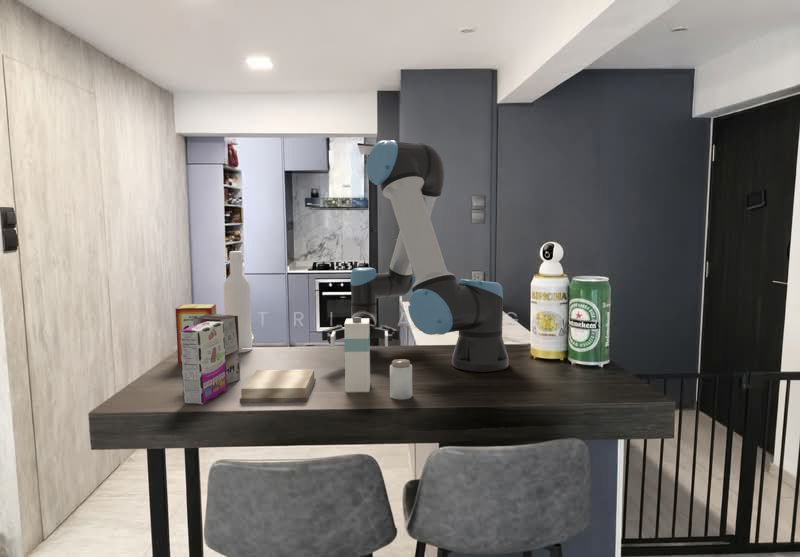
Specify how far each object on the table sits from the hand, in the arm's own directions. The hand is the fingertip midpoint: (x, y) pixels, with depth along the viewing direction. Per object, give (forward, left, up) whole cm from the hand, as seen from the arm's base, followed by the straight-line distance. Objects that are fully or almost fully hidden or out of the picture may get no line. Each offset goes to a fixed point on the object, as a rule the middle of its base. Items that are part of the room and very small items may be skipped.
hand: (359, 341), depth 152 cm
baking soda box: (+46, -18, -9) cm, 50 cm away
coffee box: (+35, +2, -9) cm, 36 cm away
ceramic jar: (-10, +17, -9) cm, 21 cm away
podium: (+18, +12, -9) cm, 23 cm away
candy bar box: (+34, +16, -9) cm, 38 cm away
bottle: (+38, -32, -9) cm, 51 cm away
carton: (0, +10, -9) cm, 13 cm away
